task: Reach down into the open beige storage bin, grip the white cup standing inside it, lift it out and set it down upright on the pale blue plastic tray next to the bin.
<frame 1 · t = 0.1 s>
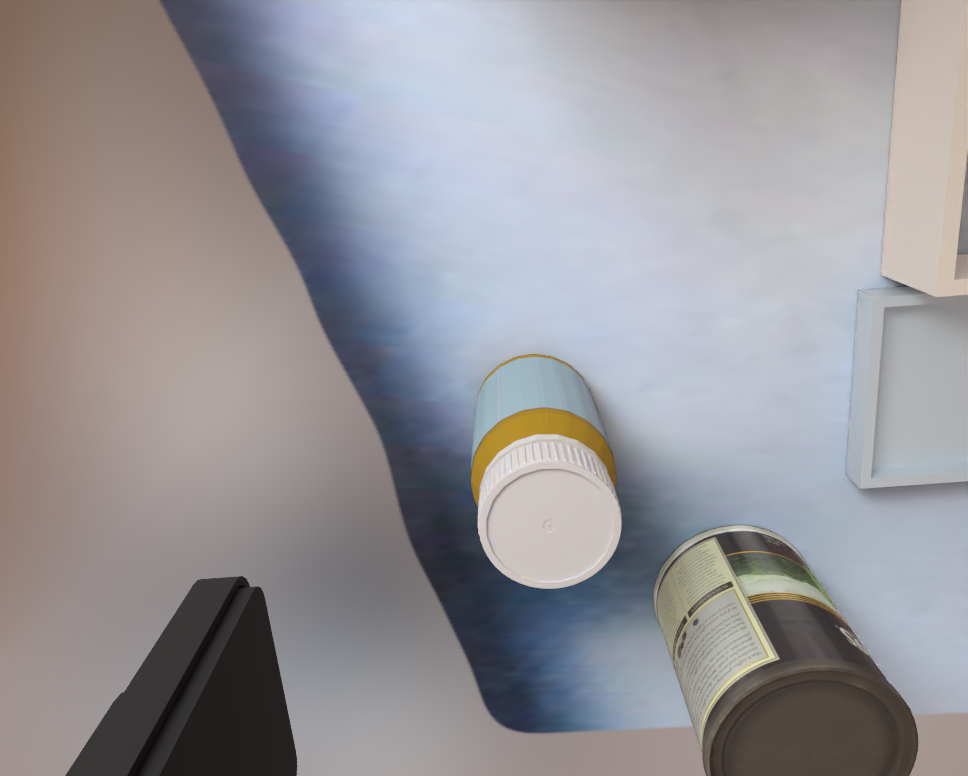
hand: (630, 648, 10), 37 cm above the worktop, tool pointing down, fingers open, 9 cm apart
coffee can: (729, 591, 52), on the worktop
bottle: (533, 405, 48), on the worktop
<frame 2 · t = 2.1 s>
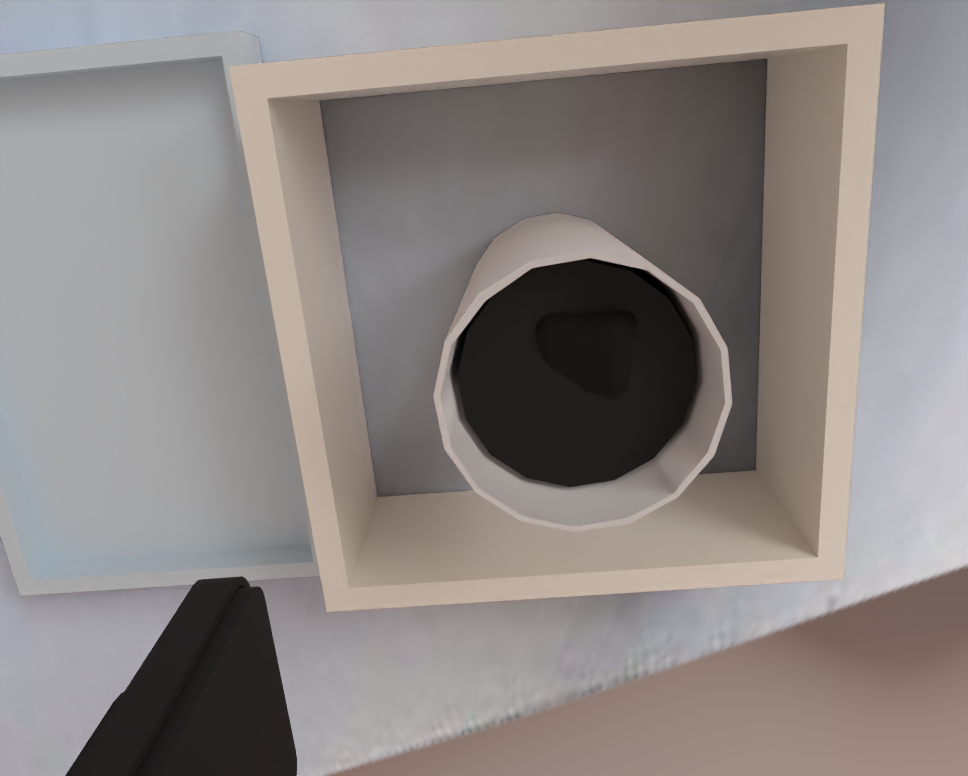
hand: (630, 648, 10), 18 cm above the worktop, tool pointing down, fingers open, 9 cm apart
white cup: (553, 297, 27), resting in open beige storage bin
tray: (141, 332, 28), on the worktop
open beige storage bin: (553, 298, 27), on the worktop
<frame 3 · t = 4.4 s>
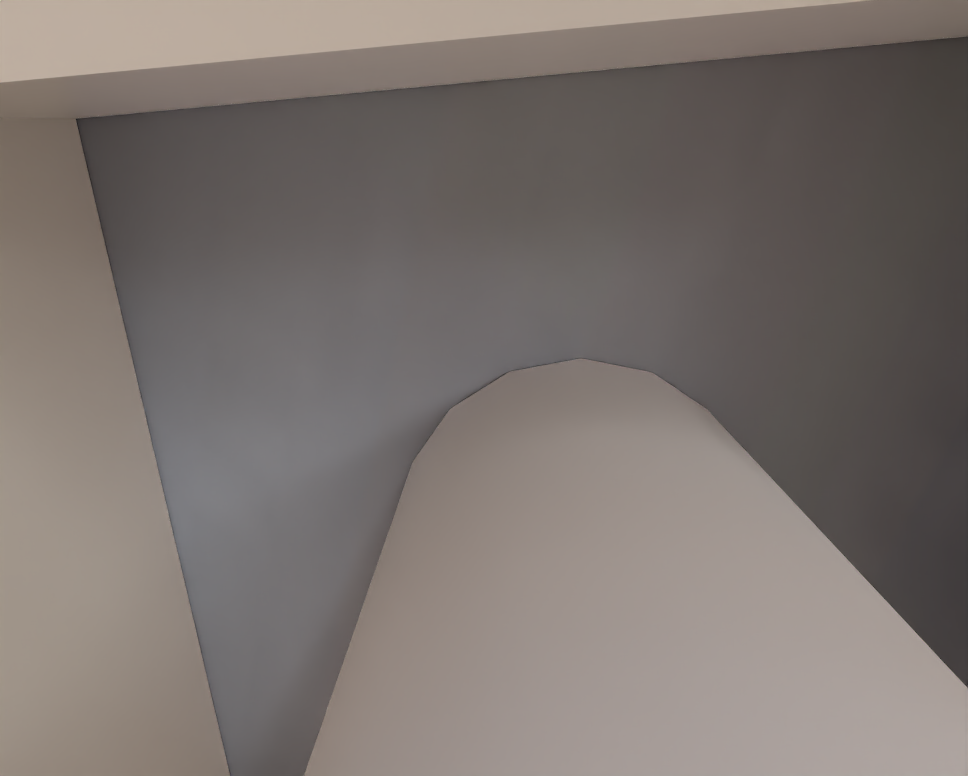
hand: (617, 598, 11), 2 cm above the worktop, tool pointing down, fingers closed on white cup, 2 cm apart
white cup: (572, 519, 13), resting in open beige storage bin, touching gripper
open beige storage bin: (592, 524, 13), on the worktop
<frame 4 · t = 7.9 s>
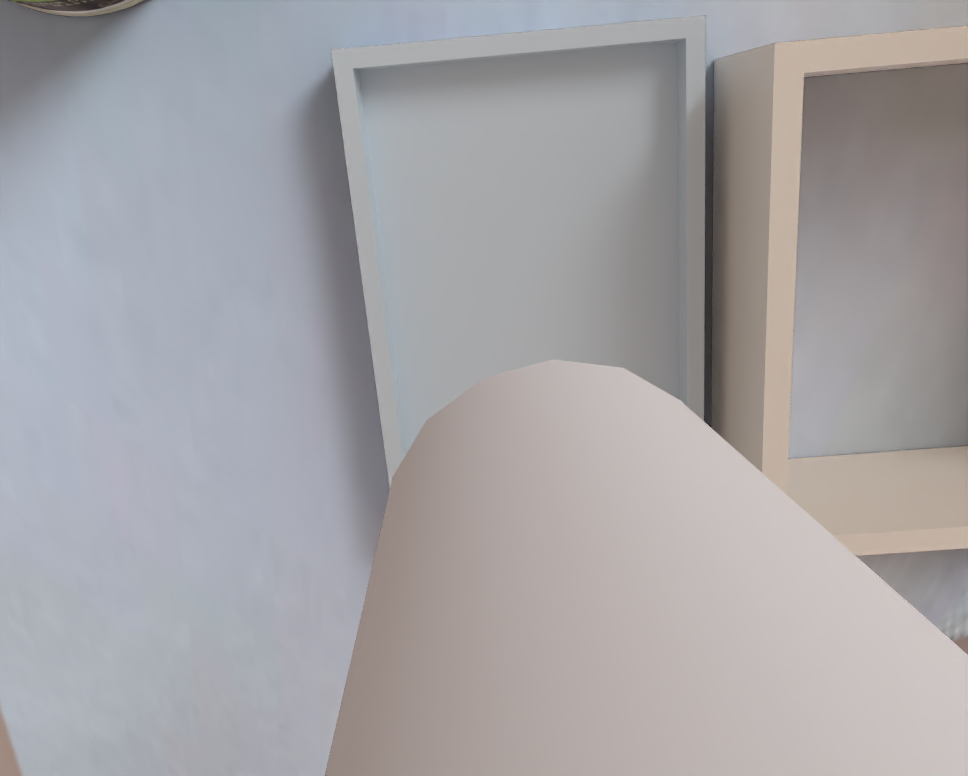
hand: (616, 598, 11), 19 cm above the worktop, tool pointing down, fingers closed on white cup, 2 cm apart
white cup: (556, 520, 13), point 17 cm above the worktop, touching gripper
tray: (532, 303, 29), on the worktop
open beige storage bin: (929, 271, 29), on the worktop
when the fingers open (4 cm above the worktop, at t = 11.3 s): white cup drops 1 cm, resting on tray.
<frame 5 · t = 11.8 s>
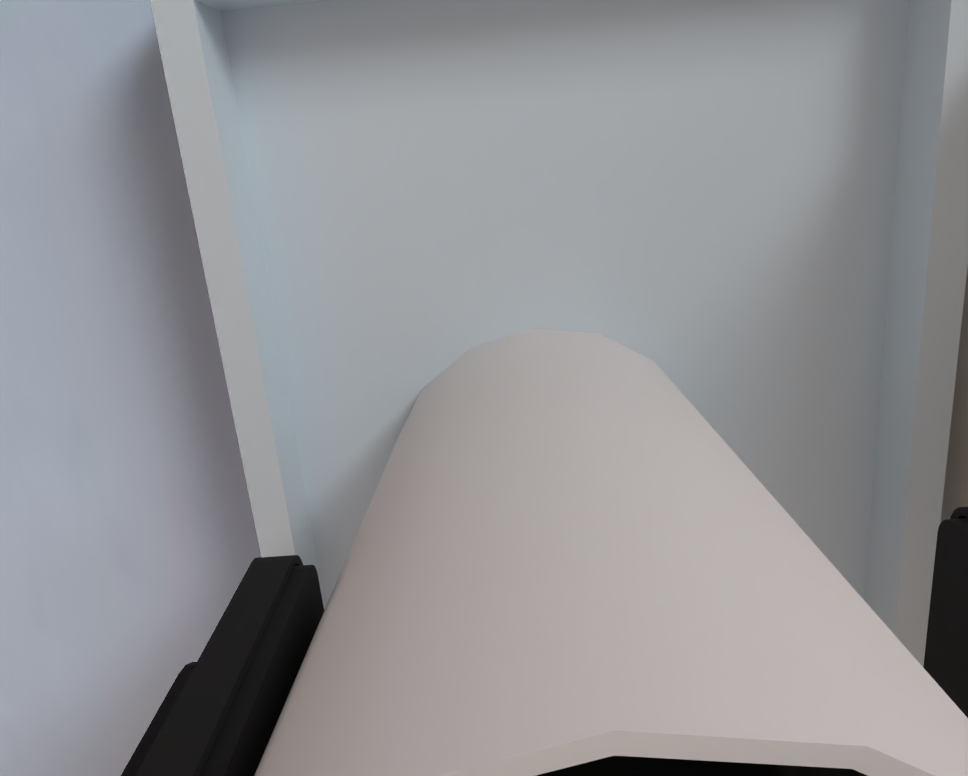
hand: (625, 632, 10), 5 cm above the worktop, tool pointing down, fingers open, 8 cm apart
white cup: (548, 475, 15), point 1 cm above the worktop, touching tray
tray: (582, 466, 15), on the worktop
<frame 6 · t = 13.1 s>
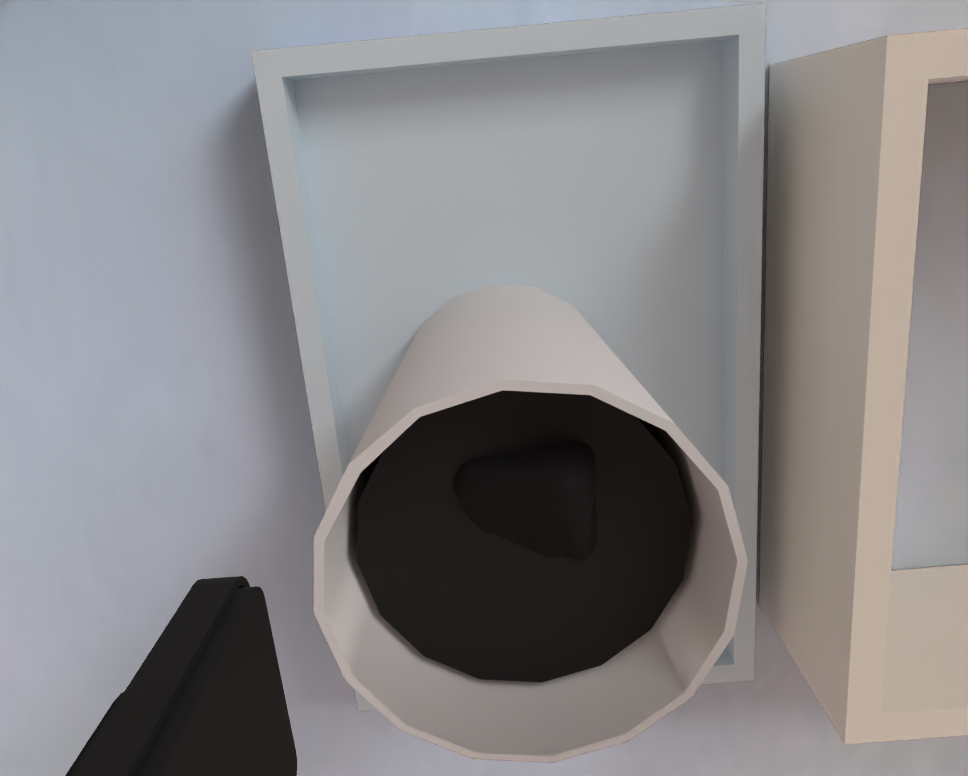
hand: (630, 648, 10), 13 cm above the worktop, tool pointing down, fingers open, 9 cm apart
white cup: (505, 386, 22), point 1 cm above the worktop, touching tray
tray: (529, 382, 22), on the worktop
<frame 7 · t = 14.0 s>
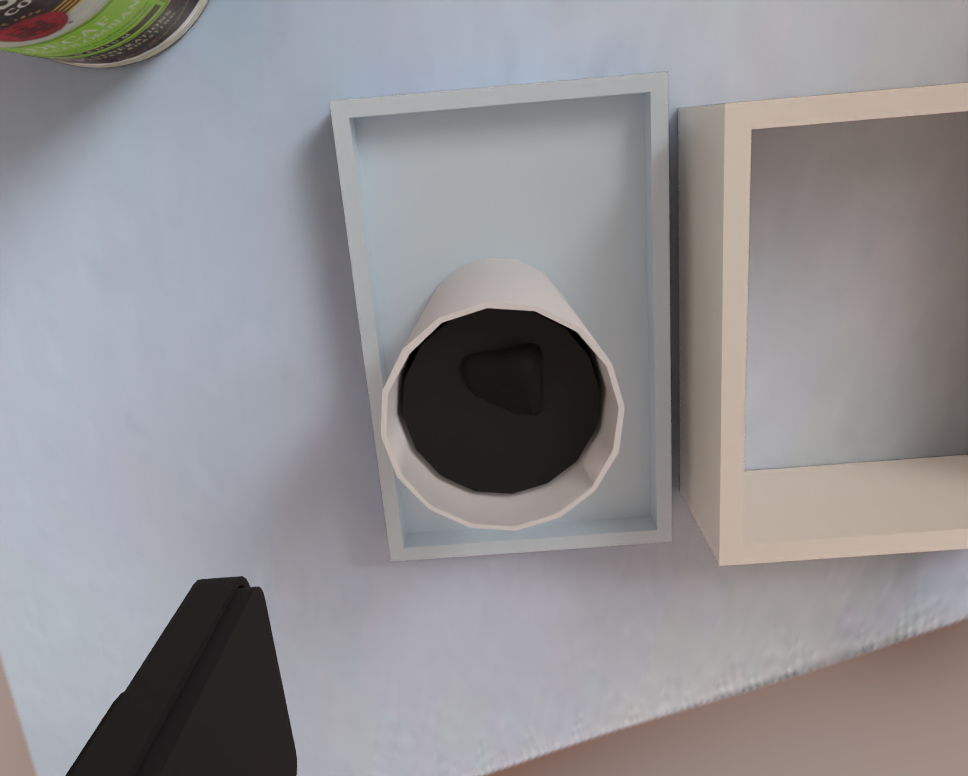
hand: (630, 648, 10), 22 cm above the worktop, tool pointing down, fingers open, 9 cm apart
white cup: (496, 329, 31), point 1 cm above the worktop, touching tray
tray: (513, 328, 32), on the worktop
open beige storage bin: (877, 299, 31), on the worktop
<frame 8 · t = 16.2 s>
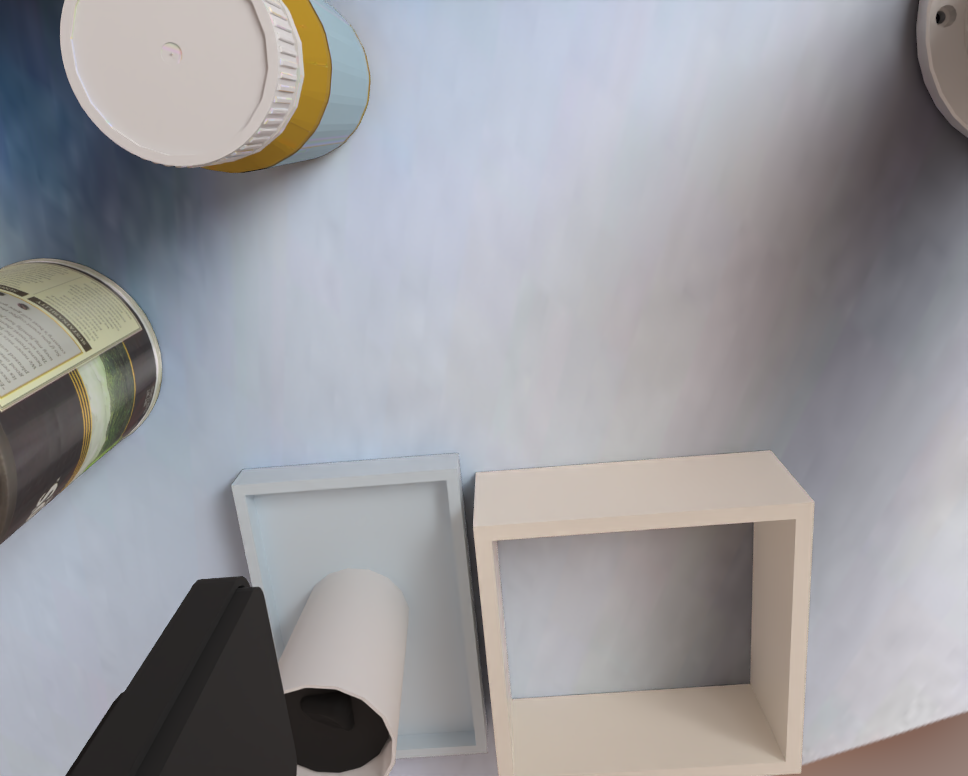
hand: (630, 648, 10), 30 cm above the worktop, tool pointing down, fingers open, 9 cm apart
white cup: (358, 611, 45), point 1 cm above the worktop, touching tray
tray: (372, 606, 45), on the worktop
coffee can: (65, 354, 41), on the worktop
bottle: (297, 79, 37), on the worktop
open beige storage bin: (626, 588, 45), on the worktop
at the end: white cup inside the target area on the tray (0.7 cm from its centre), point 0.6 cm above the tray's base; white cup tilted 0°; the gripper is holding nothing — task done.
